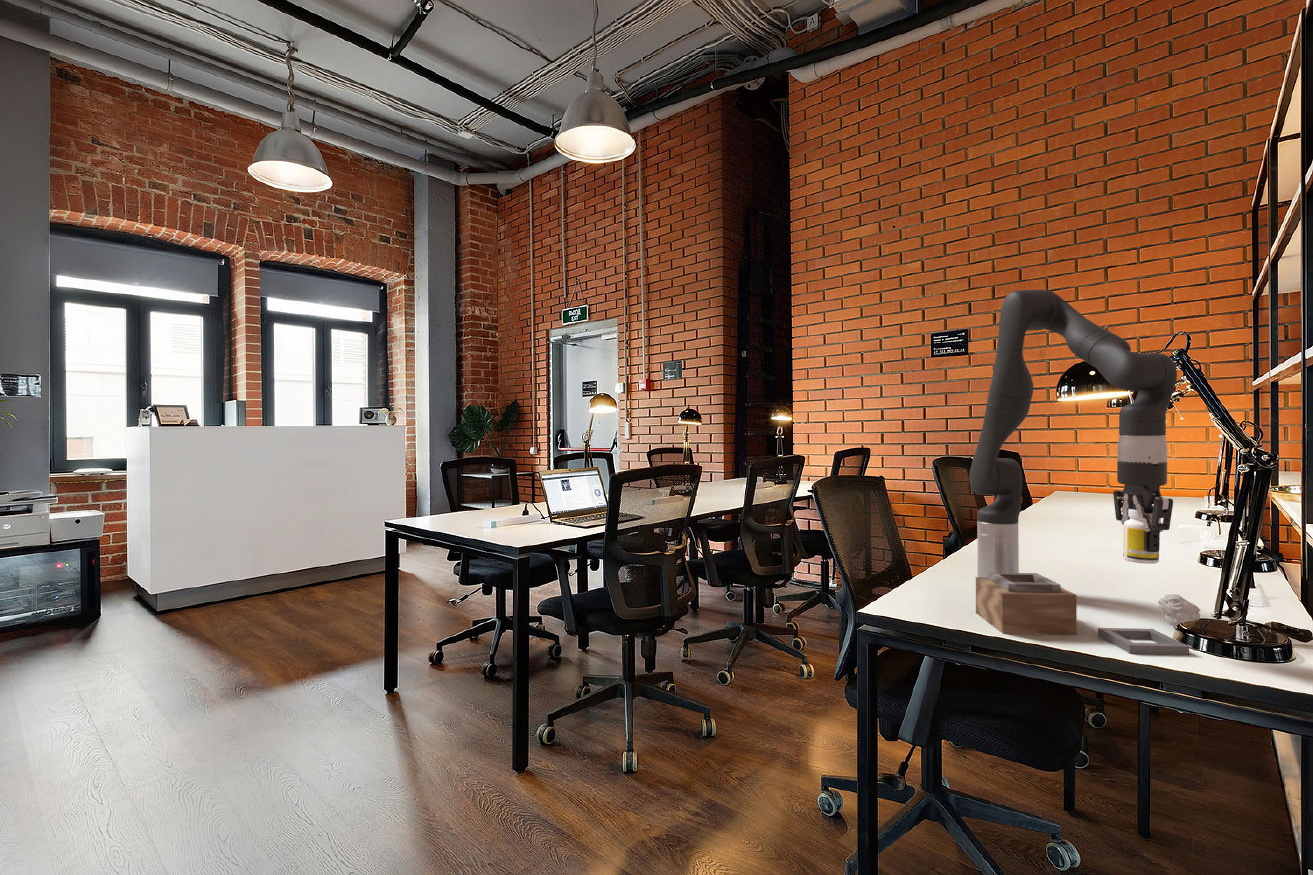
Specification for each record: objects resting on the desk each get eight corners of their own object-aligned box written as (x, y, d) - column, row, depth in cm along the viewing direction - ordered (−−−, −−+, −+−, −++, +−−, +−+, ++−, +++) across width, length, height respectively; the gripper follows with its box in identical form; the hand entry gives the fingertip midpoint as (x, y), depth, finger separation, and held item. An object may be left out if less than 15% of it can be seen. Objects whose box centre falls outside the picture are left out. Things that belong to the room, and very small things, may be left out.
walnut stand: (975, 612, 142) (975, 570, 142) (1042, 613, 140) (1042, 571, 140) (1002, 633, 128) (1002, 586, 128) (1076, 634, 126) (1076, 587, 126)
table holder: (1098, 635, 126) (1098, 627, 126) (1152, 636, 125) (1152, 628, 125) (1129, 653, 116) (1129, 645, 116) (1189, 654, 115) (1189, 646, 115)
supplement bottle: (1165, 564, 117) (1166, 512, 117) (1132, 564, 118) (1132, 511, 118) (1149, 558, 122) (1149, 507, 122) (1117, 557, 124) (1117, 507, 123)
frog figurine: (1152, 623, 133) (1152, 590, 133) (1192, 626, 131) (1192, 592, 131) (1165, 632, 127) (1165, 597, 127) (1207, 635, 125) (1207, 600, 125)
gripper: (1098, 457, 127) (1098, 540, 128) (1144, 462, 113) (1144, 556, 114) (1138, 456, 126) (1138, 541, 127) (1190, 461, 112) (1190, 556, 113)
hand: (1141, 547), depth 120 cm, fingers closed on supplement bottle, 5 cm apart
